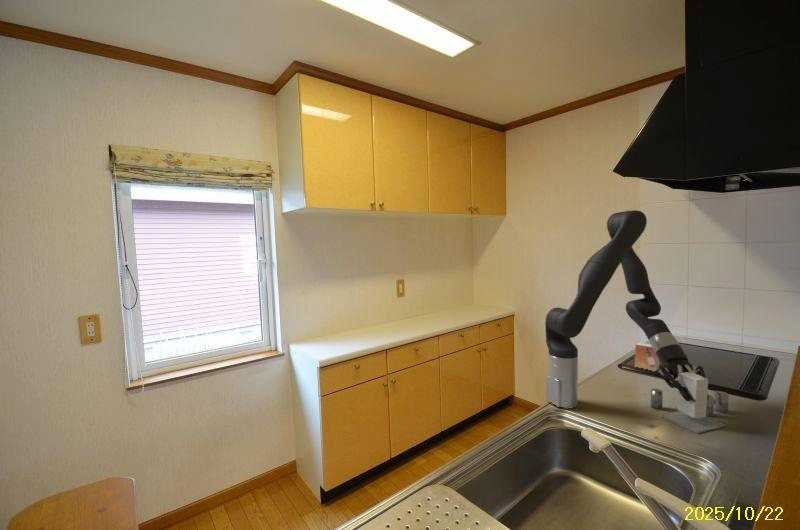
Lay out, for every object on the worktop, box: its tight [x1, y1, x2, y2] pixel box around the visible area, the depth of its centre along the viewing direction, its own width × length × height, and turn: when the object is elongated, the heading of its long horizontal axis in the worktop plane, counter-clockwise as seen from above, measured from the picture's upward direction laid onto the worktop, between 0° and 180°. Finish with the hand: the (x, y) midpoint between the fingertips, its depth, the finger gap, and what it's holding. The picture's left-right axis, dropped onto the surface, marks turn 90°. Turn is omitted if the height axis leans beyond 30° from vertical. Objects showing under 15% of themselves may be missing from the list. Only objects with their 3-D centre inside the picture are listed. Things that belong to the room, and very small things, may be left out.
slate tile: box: [659, 410, 727, 434], centre depth 113 cm, size 12×11×1 cm
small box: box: [634, 341, 660, 372], centre depth 160 cm, size 8×6×10 cm
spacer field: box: [650, 388, 730, 418], centre depth 121 cm, size 21×12×6 cm, turn 108°
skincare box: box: [677, 372, 709, 418], centre depth 112 cm, size 6×4×12 cm
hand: (697, 399), depth 110 cm, fingers closed on skincare box, 4 cm apart
